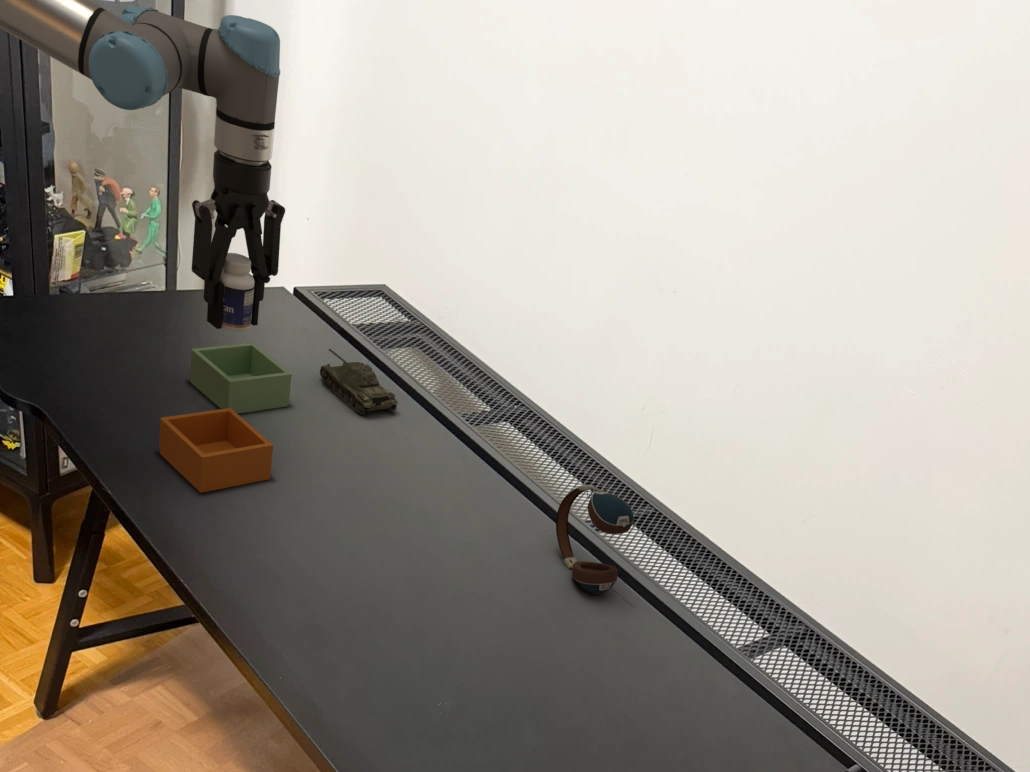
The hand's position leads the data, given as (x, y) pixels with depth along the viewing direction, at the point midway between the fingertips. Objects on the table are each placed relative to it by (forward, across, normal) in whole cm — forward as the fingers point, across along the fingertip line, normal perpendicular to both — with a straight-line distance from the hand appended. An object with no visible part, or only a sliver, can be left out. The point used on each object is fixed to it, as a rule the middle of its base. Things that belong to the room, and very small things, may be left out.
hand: (232, 322), depth 152 cm
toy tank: (+17, +28, +3) cm, 32 cm away
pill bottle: (+1, 0, 0) cm, 1 cm away
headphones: (+17, +25, -59) cm, 66 cm away
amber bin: (+17, -9, -11) cm, 22 cm away
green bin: (+17, +8, +8) cm, 20 cm away
